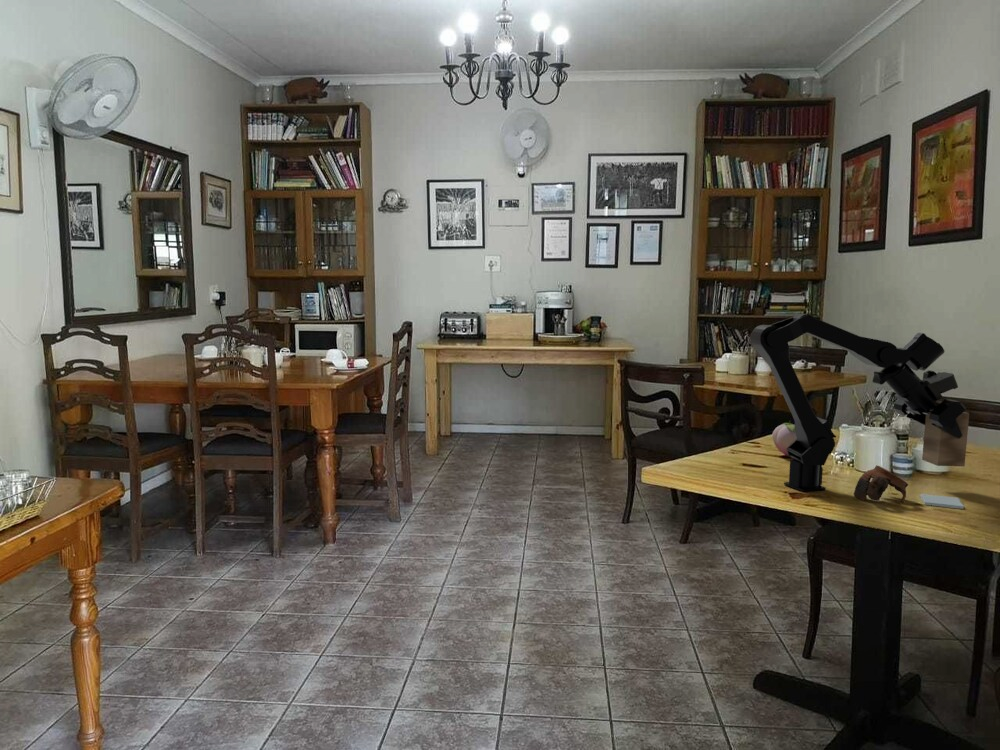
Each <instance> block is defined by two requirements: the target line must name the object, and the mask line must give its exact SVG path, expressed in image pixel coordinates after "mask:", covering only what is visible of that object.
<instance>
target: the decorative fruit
mask: <svg viewBox="0 0 1000 750" xmlns="http://www.w3.org/2000/svg"><path fill="white" fill-rule="evenodd" d="M771 435H772V441H773V443H774V446H775V448H777V450H778V451H779V452H780V453H782V454H783V455H784V456H786V457H789V456H788V452H787V447H788V446H790V445H791V444H792V443H793V442H794V441H795V440H796V439H797V437H796V434H795V424H793V423H791V420H789V422H783V423H782V424H780V425H777V427H775V429H774V430H773V431H772V434H771Z"/></svg>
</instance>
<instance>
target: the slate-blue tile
mask: <svg viewBox="0 0 1000 750" xmlns="http://www.w3.org/2000/svg"><path fill="white" fill-rule="evenodd" d="M920 496H921V497H920V498H921V500H922V503H923V504H925V506H931V505H932V506H933V507H941V508H949V509H951V508H952V509H959V510H964V504H963V503H962V501H961V500H960V498H959V497H955V496H946V495H945V496H944V495H935V494H926V493H920Z"/></svg>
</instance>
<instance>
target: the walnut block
mask: <svg viewBox="0 0 1000 750" xmlns="http://www.w3.org/2000/svg"><path fill="white" fill-rule="evenodd" d="M929 415H930V413H929V414H926V420H925V425H924V432H923V434H924V435H923V443H922V456H921V460H922V461H925V462H927V463H930V464H933V465H934V466H937V467H965V464H966V453H967V444H968V443H967V442H968V433H969V432H968V431H969V421H970V413H969V412H966V411H964V412H963V413H962V414H961V415H960V416H958V417H957V418H956V420H957V423H958V425H959V428H960V430H961V433H962V437H961V438H959V439H958V438H956V437H954V436H952V435H950V434H948V433H946V432H944V431H943V430H941V429H939V428H937V427H935V426H933V425H931V424H932V423H933V422H932V421H931V420H930V419H929Z"/></svg>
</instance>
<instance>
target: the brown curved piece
mask: <svg viewBox="0 0 1000 750" xmlns="http://www.w3.org/2000/svg"><path fill="white" fill-rule="evenodd" d="M889 486H890V487H892V488H894V490H896V491H898V492H900V493H901V495H902V497H901V499H900V502H903V503H904V502H905V499H906V497H907V490H906V489H907V487H908V486H909V484H908V482H906V481H905V480H903V479H902V478H901V477H900V476H898V475H896V474H895V473H893V472H891V471H889V470H888V469H886V468H884V467H882V466H881V465H877V464H876V465H875V467H874V468H873V469H868V470H867V471H864V473H862V475H861V476H860V477H859V479H858V481H857V483H856V485H855V488H854V492H853V495H854V497H856V498H858V499H859V500H861V501H862V500H863V501H862V502H865V501H866V498H867V496H868V498H869V499H870V500H871V501H880V499H881V498H882V497H883V494H884V493H885V492H886V490H887V489H888V487H889Z"/></svg>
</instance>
